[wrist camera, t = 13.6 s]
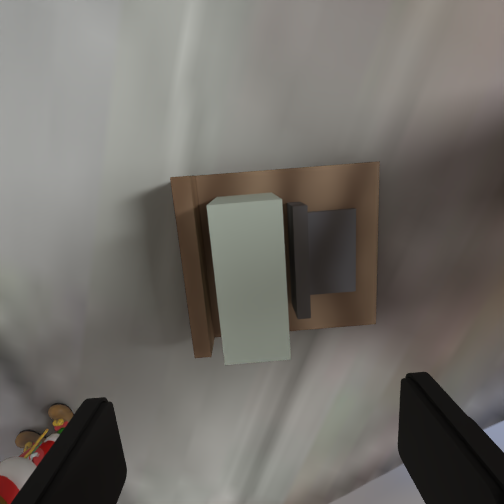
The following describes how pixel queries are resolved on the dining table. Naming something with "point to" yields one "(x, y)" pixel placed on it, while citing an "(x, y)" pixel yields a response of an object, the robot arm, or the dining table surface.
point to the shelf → (291, 243)
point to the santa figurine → (30, 454)
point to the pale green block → (250, 277)
